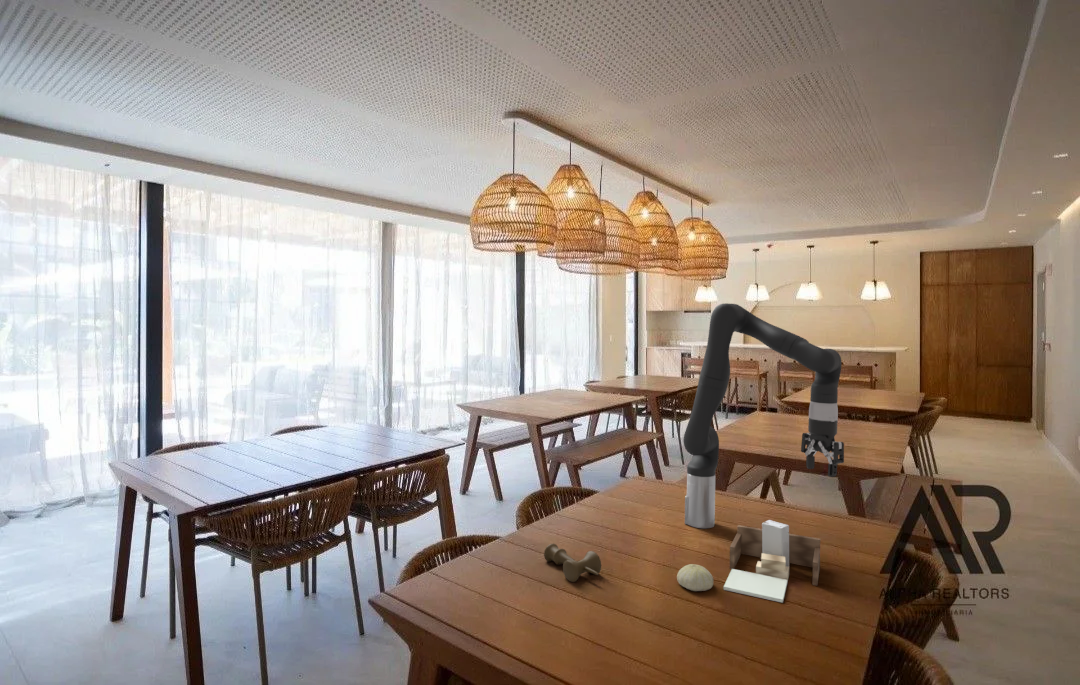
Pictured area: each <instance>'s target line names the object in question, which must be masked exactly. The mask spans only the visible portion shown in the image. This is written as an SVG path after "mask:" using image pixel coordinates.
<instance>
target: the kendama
mask: <svg viewBox="0 0 1080 685" xmlns="http://www.w3.org/2000/svg"><path fill="white" fill-rule="evenodd" d="M543 556H544V560H545V561H546V562H554V563H555V564H556V565H557V566H558V565H562V564H563V565H562V571H563V574H564V575H563V576H564V577H565V579H566V580H567V581H569V582H570V583H575V582H577V580H578V579H579V577H580V576H581V575H582V574H584V573H589V574H593V575H596V576H599V574H600V572H601V570H602V559H600V555H599V554H598V553H597V552H595V551H594V550H588V551H587V552H586V553H585V555H584V557H583V558H582V559H581V560H578V561H577V560H575V559H573V558H572V557H571V556H570V555H568V554H567V550H566V549H564V548H559V546H558V545H557V543H550V544H548V545H547V546H546V547H545V549H544V553H543Z"/></svg>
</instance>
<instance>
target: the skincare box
mask: <svg viewBox="0 0 1080 685" xmlns="http://www.w3.org/2000/svg"><path fill="white" fill-rule="evenodd" d="M761 529H762V553H764V554H771V555H777V556H784V557H785V561H786V566H787V567H789V568H790V563H789V534H790V525H789V524H787V523H782V522H778V521H775V520H772V519H768V520H766V521H764V522H762V523H761Z"/></svg>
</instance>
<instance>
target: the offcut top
mask: <svg viewBox="0 0 1080 685" xmlns="http://www.w3.org/2000/svg"><path fill="white" fill-rule="evenodd" d="M760 560H761V568H765V569H772V570H778V571H785V568H786V561H785V557H784V556H777V555H771V554H764V553H762V555H761V557H760Z"/></svg>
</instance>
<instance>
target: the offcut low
mask: <svg viewBox="0 0 1080 685" xmlns="http://www.w3.org/2000/svg"><path fill="white" fill-rule="evenodd" d="M755 573H756V574H761V575H765V576H770V577H775V578H780V579H785V580H788V581H789V577H790V566H789V567H787V566H786V568H785V571H778V570H772V569H765V568H761V561H760V560H757V563H756V565H755Z"/></svg>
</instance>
